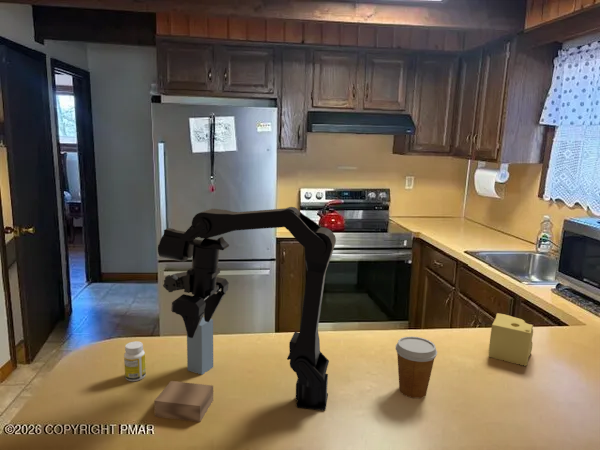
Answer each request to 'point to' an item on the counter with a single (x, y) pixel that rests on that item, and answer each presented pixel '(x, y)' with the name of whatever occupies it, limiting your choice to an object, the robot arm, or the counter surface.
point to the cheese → (510, 339)
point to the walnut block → (184, 401)
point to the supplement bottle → (134, 361)
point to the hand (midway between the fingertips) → (199, 329)
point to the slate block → (201, 348)
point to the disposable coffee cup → (415, 365)
